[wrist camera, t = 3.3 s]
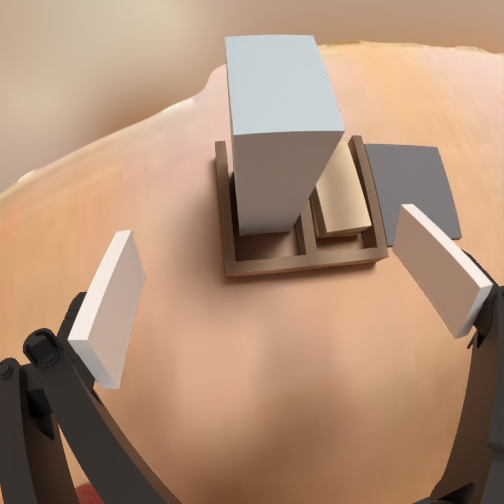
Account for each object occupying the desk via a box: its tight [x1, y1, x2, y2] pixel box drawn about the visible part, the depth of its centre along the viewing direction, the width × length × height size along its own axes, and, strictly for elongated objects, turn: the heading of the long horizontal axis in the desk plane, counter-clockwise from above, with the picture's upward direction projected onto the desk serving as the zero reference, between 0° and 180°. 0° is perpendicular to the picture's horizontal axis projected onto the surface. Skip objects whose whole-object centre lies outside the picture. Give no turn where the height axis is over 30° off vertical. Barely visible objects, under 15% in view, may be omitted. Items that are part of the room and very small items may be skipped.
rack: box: [215, 136, 389, 278], centre depth 29 cm, size 15×13×3 cm
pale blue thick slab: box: [225, 35, 345, 236], centre depth 22 cm, size 5×7×18 cm
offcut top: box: [312, 141, 371, 237], centre depth 29 cm, size 4×9×2 cm, turn 10°
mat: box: [364, 144, 462, 246], centre depth 31 cm, size 11×12×1 cm
